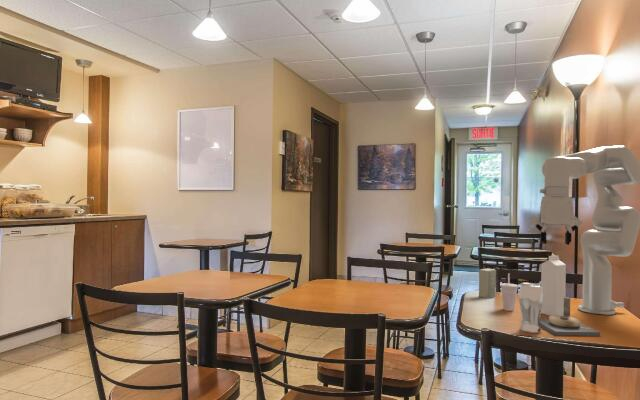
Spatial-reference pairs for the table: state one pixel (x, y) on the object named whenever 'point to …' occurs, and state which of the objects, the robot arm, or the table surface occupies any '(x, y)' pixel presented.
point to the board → (568, 329)
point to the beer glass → (531, 306)
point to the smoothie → (509, 294)
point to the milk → (553, 286)
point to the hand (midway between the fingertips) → (555, 243)
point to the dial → (565, 317)
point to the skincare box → (487, 283)
